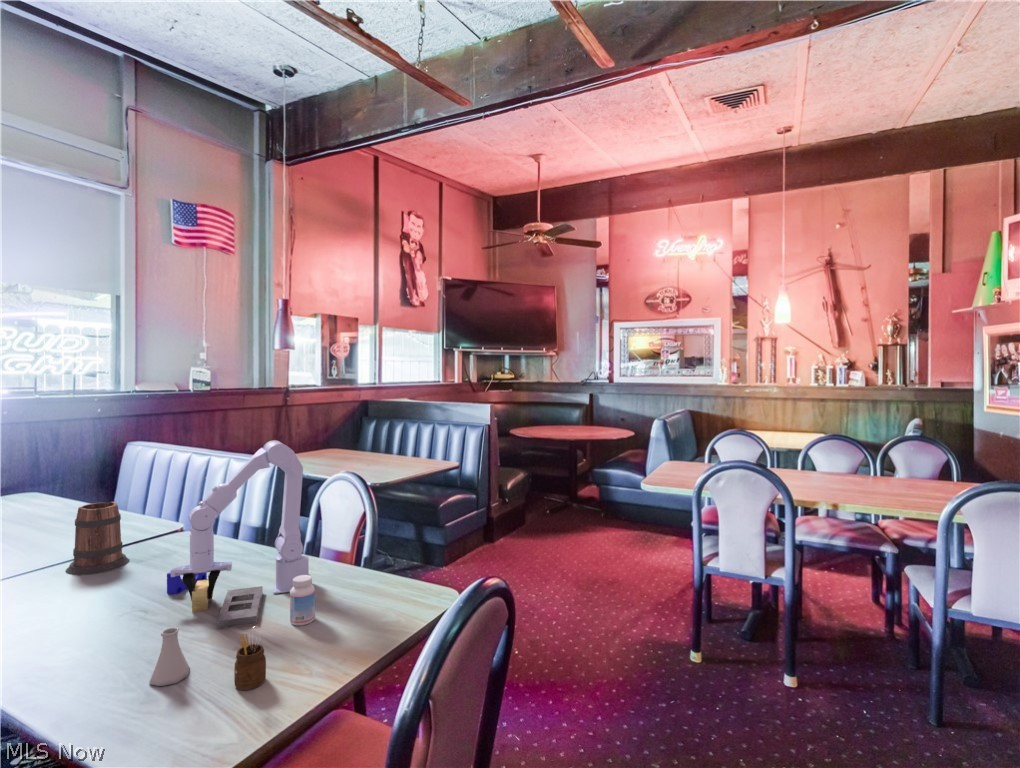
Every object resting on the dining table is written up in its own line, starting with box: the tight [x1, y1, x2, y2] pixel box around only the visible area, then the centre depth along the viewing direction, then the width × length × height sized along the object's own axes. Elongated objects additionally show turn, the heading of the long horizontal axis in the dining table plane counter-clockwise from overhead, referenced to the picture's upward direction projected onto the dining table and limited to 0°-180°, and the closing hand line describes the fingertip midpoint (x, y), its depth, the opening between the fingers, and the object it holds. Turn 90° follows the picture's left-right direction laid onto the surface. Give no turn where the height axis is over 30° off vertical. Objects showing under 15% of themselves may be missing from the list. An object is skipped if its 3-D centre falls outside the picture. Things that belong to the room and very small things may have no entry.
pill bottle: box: [289, 575, 316, 626], centre depth 139 cm, size 6×6×11 cm
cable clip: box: [166, 571, 208, 595], centre depth 161 cm, size 12×4×6 cm, turn 169°
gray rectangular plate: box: [216, 585, 264, 630], centre depth 145 cm, size 9×20×2 cm, turn 21°
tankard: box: [65, 501, 131, 576], centre depth 178 cm, size 24×17×20 cm
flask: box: [148, 626, 191, 687], centre depth 113 cm, size 7×7×10 cm
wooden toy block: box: [191, 579, 212, 613], centre depth 148 cm, size 4×8×6 cm, turn 21°
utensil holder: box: [233, 625, 267, 691], centre depth 111 cm, size 6×6×12 cm
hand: (202, 598), depth 148 cm, fingers closed on wooden toy block, 3 cm apart
